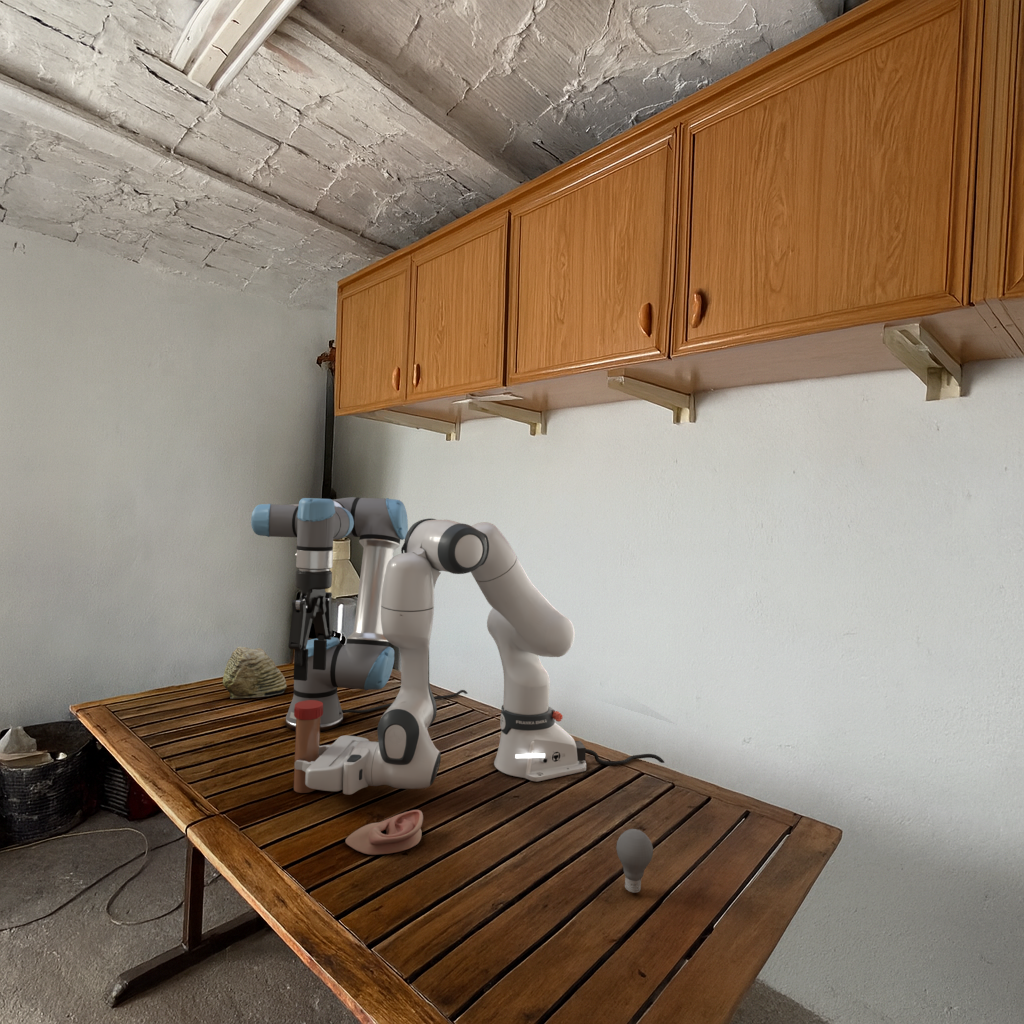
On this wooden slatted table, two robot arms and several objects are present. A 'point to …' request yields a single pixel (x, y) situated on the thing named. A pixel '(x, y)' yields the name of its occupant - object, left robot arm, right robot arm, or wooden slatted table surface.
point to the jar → (306, 749)
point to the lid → (308, 710)
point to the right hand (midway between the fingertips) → (303, 757)
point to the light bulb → (634, 857)
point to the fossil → (252, 674)
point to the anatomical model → (388, 834)
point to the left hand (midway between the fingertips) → (310, 674)
